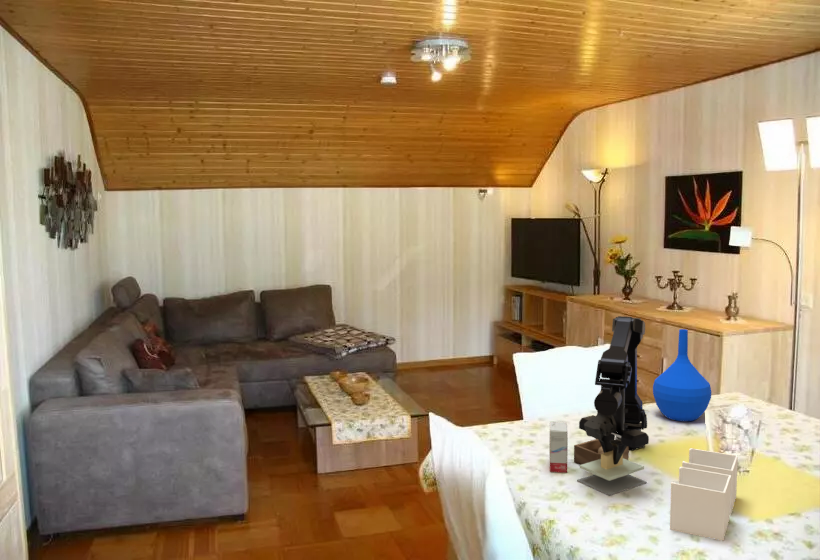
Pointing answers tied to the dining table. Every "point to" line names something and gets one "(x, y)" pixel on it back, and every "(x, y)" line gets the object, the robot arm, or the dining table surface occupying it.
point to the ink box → (558, 447)
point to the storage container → (704, 494)
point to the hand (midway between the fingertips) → (612, 462)
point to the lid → (611, 467)
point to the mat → (611, 483)
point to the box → (591, 452)
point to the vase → (682, 387)
